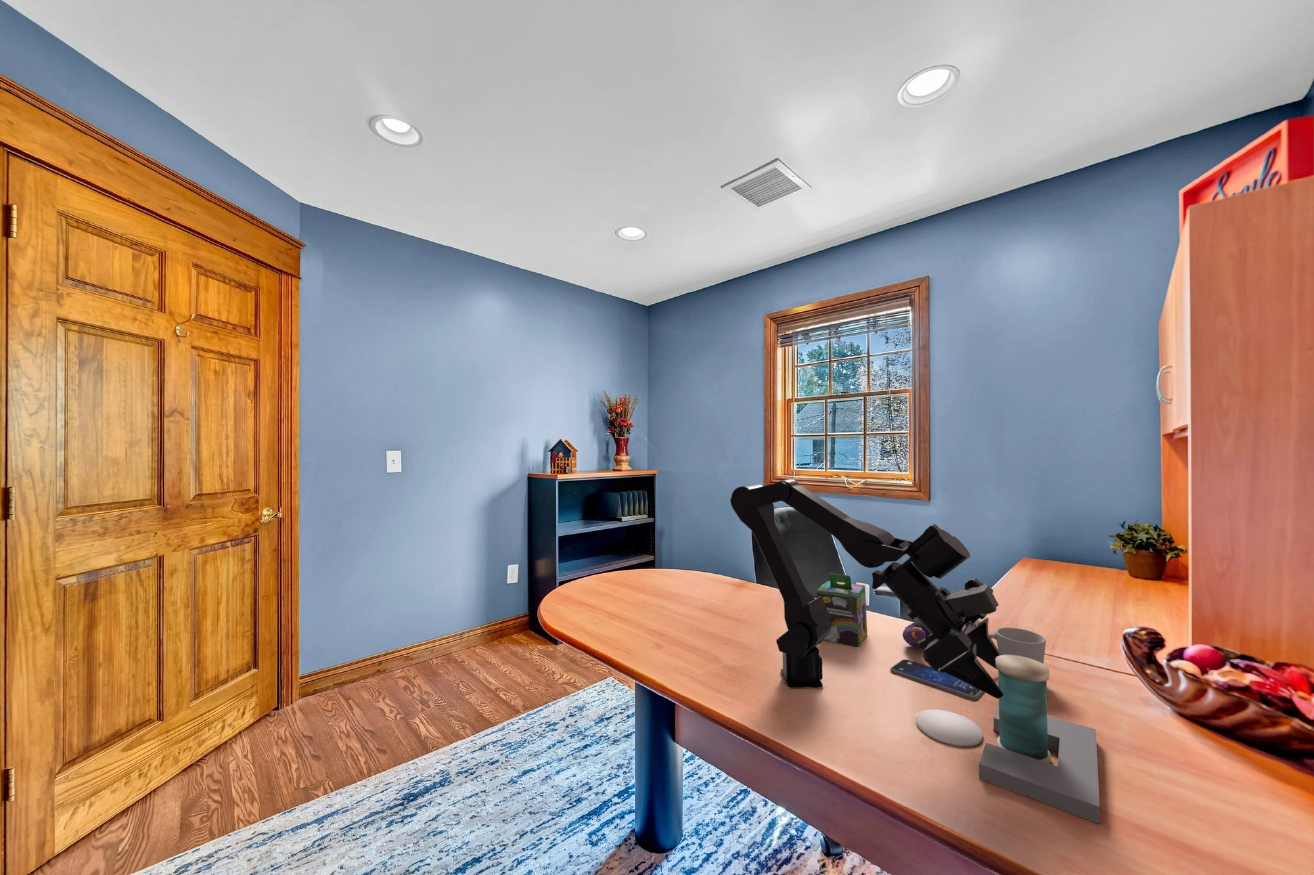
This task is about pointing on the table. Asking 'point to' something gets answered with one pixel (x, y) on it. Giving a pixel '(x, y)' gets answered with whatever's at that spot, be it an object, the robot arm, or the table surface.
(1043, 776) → the notched board
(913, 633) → the toy
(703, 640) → the table surface
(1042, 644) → the cup
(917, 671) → the smartphone
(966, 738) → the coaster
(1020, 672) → the bobbin
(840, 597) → the chalk box
